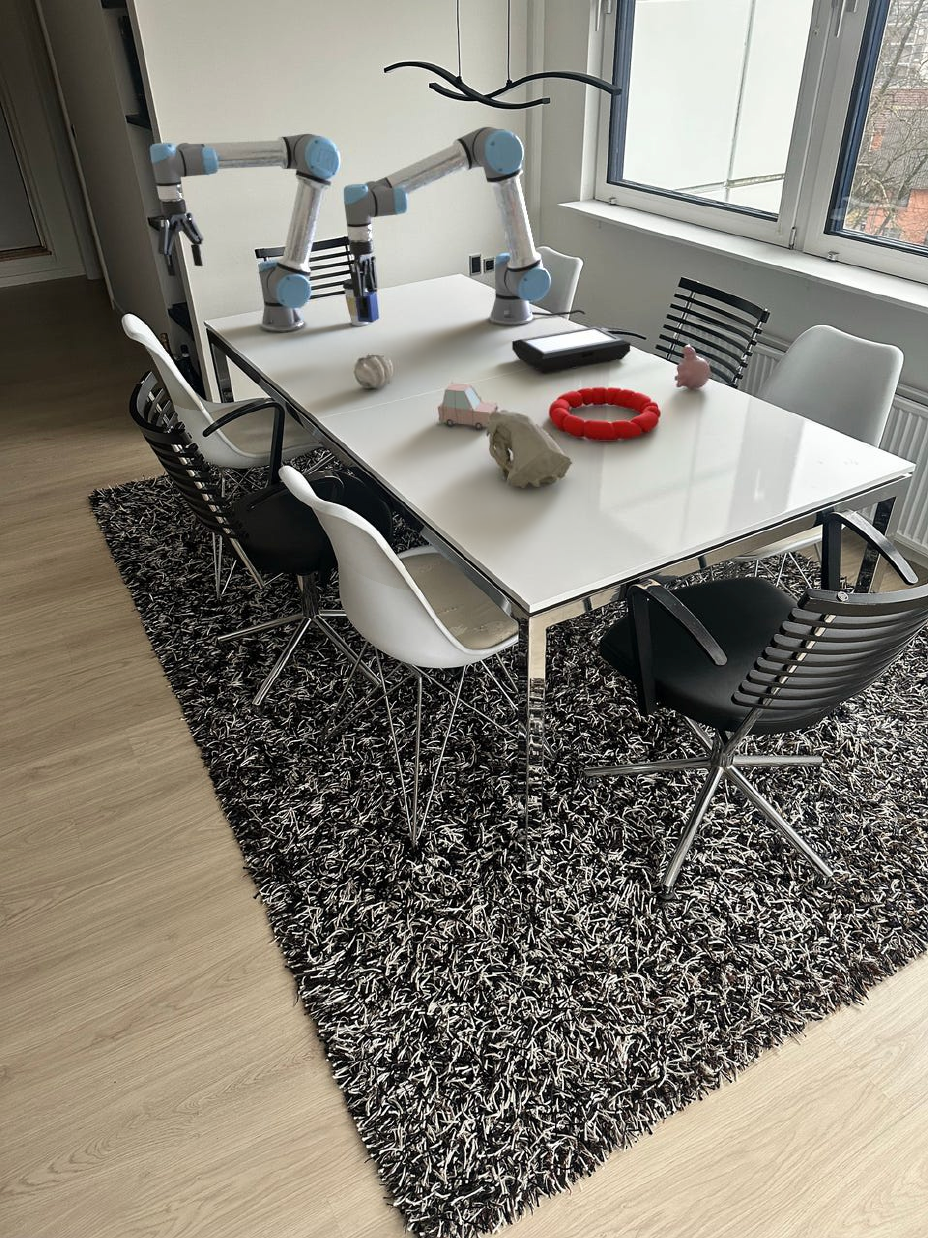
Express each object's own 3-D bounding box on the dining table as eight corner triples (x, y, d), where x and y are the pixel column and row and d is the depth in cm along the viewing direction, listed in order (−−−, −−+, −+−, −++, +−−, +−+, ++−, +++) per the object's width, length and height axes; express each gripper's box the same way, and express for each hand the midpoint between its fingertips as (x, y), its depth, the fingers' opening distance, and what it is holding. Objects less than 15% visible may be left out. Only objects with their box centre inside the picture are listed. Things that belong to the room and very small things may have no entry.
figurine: (665, 387, 264) (669, 347, 257) (693, 380, 268) (698, 340, 261) (686, 396, 257) (690, 355, 250) (714, 388, 262) (720, 348, 255)
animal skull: (496, 517, 219) (521, 479, 201) (463, 429, 225) (484, 384, 207) (557, 503, 225) (586, 465, 206) (523, 417, 231) (549, 373, 212)
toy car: (488, 432, 240) (488, 396, 234) (436, 426, 244) (434, 390, 239) (499, 419, 247) (499, 384, 241) (448, 413, 252) (447, 379, 246)
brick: (372, 322, 289) (369, 296, 284) (358, 321, 290) (355, 295, 286) (379, 318, 292) (376, 292, 288) (364, 317, 294) (362, 291, 289)
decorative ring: (589, 435, 224) (684, 402, 234) (527, 398, 247) (617, 369, 256) (589, 461, 229) (683, 427, 238) (529, 422, 251) (617, 393, 260)
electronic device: (541, 356, 271) (512, 338, 286) (541, 376, 275) (512, 357, 290) (630, 340, 281) (597, 324, 296) (629, 359, 285) (596, 342, 300)
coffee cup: (372, 326, 323) (368, 283, 314) (345, 327, 323) (340, 284, 315) (374, 318, 331) (371, 276, 322) (348, 319, 331) (344, 277, 323)
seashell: (346, 386, 272) (343, 354, 266) (390, 377, 278) (388, 345, 272) (359, 397, 264) (356, 364, 259) (405, 387, 270) (402, 354, 264)
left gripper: (156, 207, 267) (171, 280, 279) (206, 192, 286) (218, 262, 298) (136, 206, 269) (152, 279, 281) (186, 192, 288) (199, 260, 300)
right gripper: (357, 246, 269) (365, 324, 283) (384, 233, 283) (390, 308, 296) (336, 245, 272) (345, 322, 285) (363, 232, 285) (370, 306, 298)
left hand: (186, 270), depth 289 cm, fingers open, 13 cm apart
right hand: (368, 315), depth 290 cm, fingers closed on brick, 5 cm apart
